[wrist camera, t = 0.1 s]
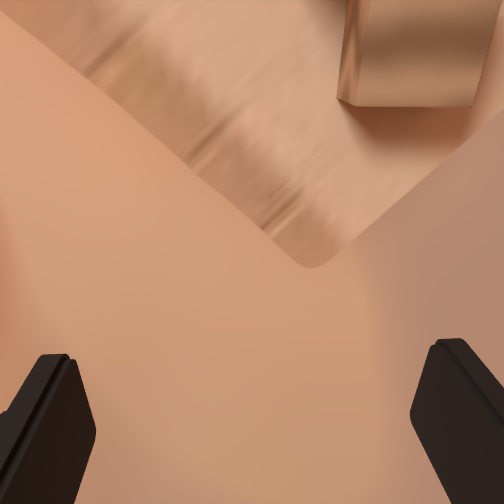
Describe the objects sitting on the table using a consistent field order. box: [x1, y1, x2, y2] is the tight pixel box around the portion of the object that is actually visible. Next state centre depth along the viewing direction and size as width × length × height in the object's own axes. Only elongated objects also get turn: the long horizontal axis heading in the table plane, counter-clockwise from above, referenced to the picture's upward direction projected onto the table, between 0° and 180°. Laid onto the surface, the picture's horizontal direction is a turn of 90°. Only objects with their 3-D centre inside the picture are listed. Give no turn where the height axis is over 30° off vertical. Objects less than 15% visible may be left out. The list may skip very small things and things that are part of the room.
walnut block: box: [337, 0, 502, 108], centre depth 31 cm, size 10×10×6 cm
